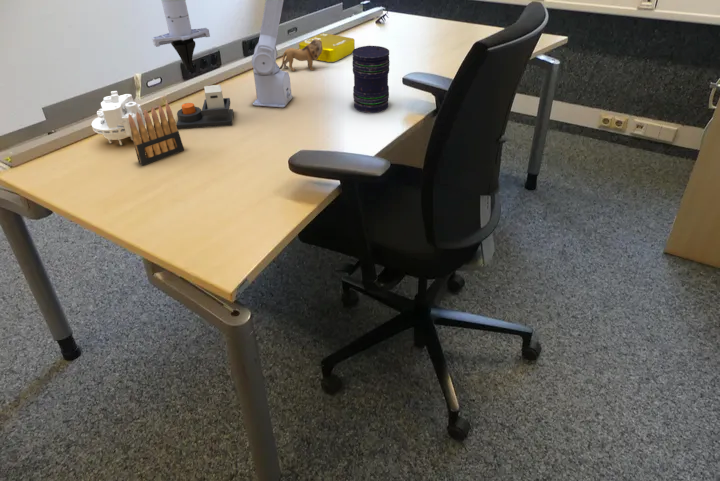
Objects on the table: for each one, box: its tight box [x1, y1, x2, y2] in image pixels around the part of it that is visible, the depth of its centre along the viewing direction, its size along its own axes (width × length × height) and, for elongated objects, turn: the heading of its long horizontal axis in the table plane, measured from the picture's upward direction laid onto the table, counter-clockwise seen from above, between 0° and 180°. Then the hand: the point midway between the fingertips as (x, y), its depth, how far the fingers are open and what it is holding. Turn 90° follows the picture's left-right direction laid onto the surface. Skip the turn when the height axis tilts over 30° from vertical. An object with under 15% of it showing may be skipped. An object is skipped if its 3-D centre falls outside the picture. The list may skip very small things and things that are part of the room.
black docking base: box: [176, 106, 235, 130], centre depth 136 cm, size 14×8×3 cm, turn 98°
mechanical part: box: [91, 90, 146, 146], centre depth 125 cm, size 11×12×12 cm
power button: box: [181, 102, 196, 114], centre depth 135 cm, size 3×3×2 cm
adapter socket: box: [201, 97, 231, 116], centre depth 135 cm, size 7×7×2 cm
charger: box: [203, 84, 225, 109], centre depth 134 cm, size 4×5×6 cm
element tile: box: [298, 32, 356, 63], centre depth 178 cm, size 15×15×5 cm
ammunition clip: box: [128, 102, 185, 166], centre depth 118 cm, size 11×2×12 cm, turn 133°
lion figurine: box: [279, 39, 323, 72], centre depth 165 cm, size 15×5×9 cm, turn 102°
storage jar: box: [351, 45, 390, 114], centre depth 139 cm, size 10×10×15 cm
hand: (188, 68), depth 139 cm, fingers closed
